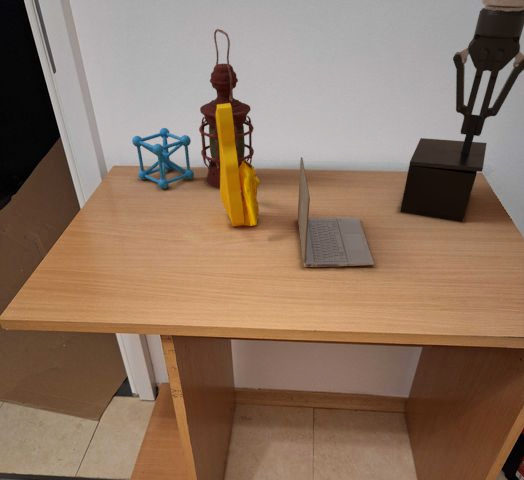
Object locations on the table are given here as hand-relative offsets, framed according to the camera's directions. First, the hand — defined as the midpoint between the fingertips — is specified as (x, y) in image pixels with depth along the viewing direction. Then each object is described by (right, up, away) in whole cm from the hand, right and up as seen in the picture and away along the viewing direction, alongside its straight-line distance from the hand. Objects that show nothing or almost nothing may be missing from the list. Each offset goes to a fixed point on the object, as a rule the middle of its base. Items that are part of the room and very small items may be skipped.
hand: (465, 151), depth 96 cm
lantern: (-49, 0, +18) cm, 52 cm away
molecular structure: (-63, +1, +19) cm, 66 cm away
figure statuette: (-45, -13, +3) cm, 47 cm away
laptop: (-27, -19, -4) cm, 34 cm away
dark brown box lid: (-3, 0, +2) cm, 3 cm away
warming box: (-3, -8, +8) cm, 12 cm away
